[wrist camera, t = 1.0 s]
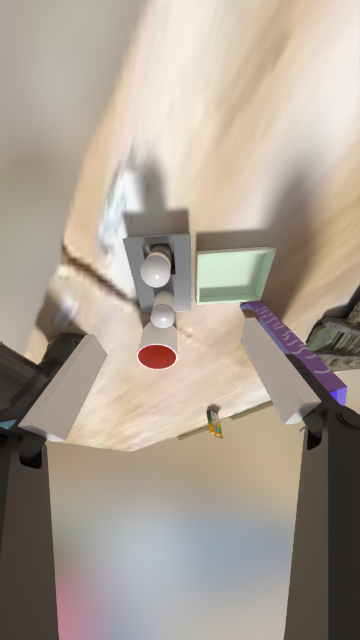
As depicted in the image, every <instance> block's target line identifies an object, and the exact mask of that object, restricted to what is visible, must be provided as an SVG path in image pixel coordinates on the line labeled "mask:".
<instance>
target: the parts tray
mask: <svg viewBox="0 0 360 640" xmlns="http://www.w3.org/2000/svg"><path fill="white" fill-rule="evenodd" d="M276 251H277V249H275V248H272V247H269V246H268V247H252V248H237V249H221V250H206V251H196V279H195V300H196V304H197V305H200V304H216V303H233V302H249V301H260V300H261V297H262V294H263V291H264V288H265V285H266V282H267V279H268V276H269V272H270V269H271V266H272V263H273V260H274V257H275V254H276Z"/></svg>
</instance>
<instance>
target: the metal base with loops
mask: <svg viewBox="0 0 360 640" xmlns="http://www.w3.org/2000/svg"><path fill="white" fill-rule="evenodd" d="M321 322H322V323H323V324H321V325H319V326H317V327H316V328H315V329H314V330H313V332H312V334H311V336H310V338H309V340H308V342H307V344H306V346H307V347H308V348H309V349H310V350H311V351H312V352H313V353H314V354H315V355H316V356H317V357H318V358H320V360H321V361H322V362H323V363H324V364H325V365H326V366H327V367H328V368H329V369H330V370H331V371H332V372H336V371H344V370H352V369H360V300H359V301H358V303H357V304H356V306H355V307H354V309H353V310H352V312H351V313H350V315H349V316H348V318H342V319H338V318H336V317H331V316H324V317H323V318H322V319H321Z"/></svg>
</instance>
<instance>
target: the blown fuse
mask: <svg viewBox="0 0 360 640" xmlns="http://www.w3.org/2000/svg"><path fill="white" fill-rule="evenodd" d="M170 269H171V252H170V250H169V249H168V248H167V247H166V246H164V245H157V246H155V247H154V248H153V249H152V251H151V252H150V253H149V255H148V256H147V258H146V259H145V261H144V262H143V264H142V266H141V269H140V273H141V277H142V279H143V281H144V282H145V283H146V284H148V285H149V286H152V287H161V286H164V285H165V284H166V283H167V282H168V280H169V278H170Z"/></svg>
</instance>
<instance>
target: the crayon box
mask: <svg viewBox="0 0 360 640" xmlns="http://www.w3.org/2000/svg"><path fill="white" fill-rule="evenodd" d="M207 418H208V424H209V430H210V433H212V434H215V437H219V438H222V439H223V436H222V431H221V427H220V422H219V417H218V413H215V412H213V411H211V410H210V411H207ZM217 435H220V436H217Z"/></svg>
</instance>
